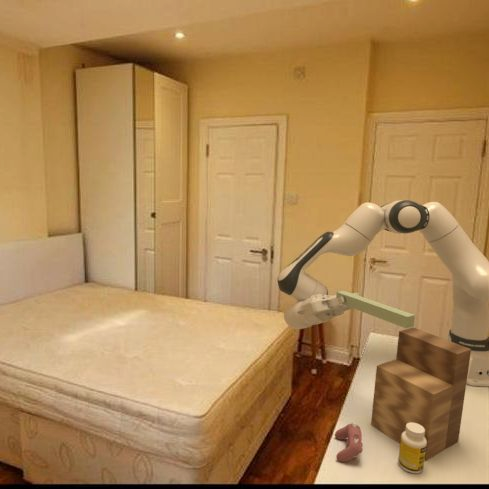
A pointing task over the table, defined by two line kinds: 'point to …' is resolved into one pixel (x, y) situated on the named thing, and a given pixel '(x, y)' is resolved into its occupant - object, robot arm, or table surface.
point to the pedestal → (422, 389)
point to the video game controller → (350, 442)
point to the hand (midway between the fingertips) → (349, 298)
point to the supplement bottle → (412, 448)
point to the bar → (378, 309)
